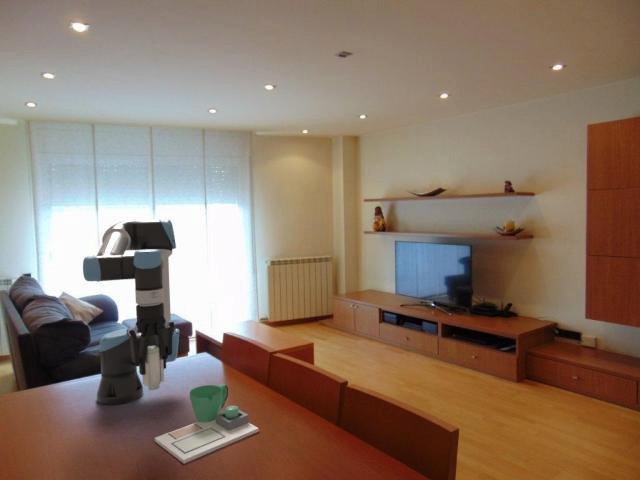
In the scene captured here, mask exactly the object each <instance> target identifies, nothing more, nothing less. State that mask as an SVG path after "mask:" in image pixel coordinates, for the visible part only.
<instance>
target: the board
mask: <svg viewBox="0 0 640 480" xmlns="http://www.w3.org/2000/svg"><path fill="white" fill-rule="evenodd" d="M259 430H260V429H259V427H257V426H256V425H254V424H252V423H250V422H249V414H248V413H246V412H244V411H242V410H240V409H239V417H237V418H234V419H232V420H228V419H226V418H225V411H222V412H221V413H220V412H219V413H218V414H217V415H216V419H215V420H213V421H210V422H198V421H196V422H194V423H191V424H188V425H186V426H183V427H180V428H178V429H175V430H173V431H169V432H166V433H164V434H161V435H159V436H156V437H154V442H155V443H157V445H159V446H160V447H162V449H164V450H166V451H167V452H168V453H169V454H170V455H172V456H173V457H174V458H176V459H177V460H178V461H179V462H181V463H182V464H187V463H189V462H191V461H193V460H196V459H198V458H200V457H203V456H205V455H208V454H210V453H212V452H214V451H217V450H218V449H221V448H223V447H226V446H229V445H230V444H233V443H235V442H239V441H240V440H241V439H245V438H248V436H251V435H254V434H257V433H258V432H259Z"/></svg>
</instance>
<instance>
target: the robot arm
mask: <svg viewBox="0 0 640 480" xmlns="http://www.w3.org/2000/svg"><path fill="white" fill-rule="evenodd" d="M101 242H102V244H101V247H100V248H99V251H98V252H97V254H96V255H92V256H89V255H88V256H86V257H84V258H83V262H82V273H83V278H84V280H85V281H87V282H97V283H99V282H106V281H107V282H109V281H121V280H134V286H135V287H134V288H135V289H134V292H135V303H136V304H137V305H136V306H135V307H136V308H135V311H136V322H135V326H133V327H131V328H121V329H117V330H113V331H110V332H108V333H106V334H104V335H102V336H101V338H100V340H99V349H98V350H99V355H100V357H99V359H100V374H101V376H100V377H101V378H100V382H99V385H98V389H97V392H96V401H97V402H98V403H99V404H101V405H107V406H108V405H120V404H126V403H130V402H132V401H134V400H137V399H138V398H141V397H142V396H143V394H144V386H146V387H148V386H150V384H149V363H146V357H147V349H148V346H159V358H160V379H161V383H164V382H165V370H166V369H167V363H173V362H175V361H176V360H177V358H178V351H179V342H180V341H179V340H180V339H179V338H180V329H179V328H176V323H175V322H174V321H172V319H171V318H172V317H171V292H170V291H171V290H170V289H171V288H170V265H169V264H170V262H169V258H170V257H171V256H172V254H173V250H175V249H177V244H176V238H175V232H174V227H173V222H172V221H171V220H170V219H165V218H162V219H161V218H153V219H147V218H146V219H127V220H124V221H119V222H118V223H116V224H113V225H112V226H110V227H109V228H108V229H107V230H105V232H104V234H103V235H102V239H101ZM127 251H134V253H132V254H125V252H127ZM137 367H138V368H137ZM138 370H139V371H138ZM138 372H139V374H140V375H141V376H142V382H141V379H140V377H139V376H140V375H139V374H138ZM143 385H144V386H143Z"/></svg>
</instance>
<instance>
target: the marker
mask: <svg viewBox="0 0 640 480" xmlns="http://www.w3.org/2000/svg"><path fill="white" fill-rule="evenodd" d="M146 363H149V384H150V386H147V387H148V388H147V389H148V391H149V390H150V391H155V390H158V389H159V388H160V385H161V383H162V382H161V379H160V358H159V346H148V349H147V357H146Z"/></svg>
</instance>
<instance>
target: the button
mask: <svg viewBox="0 0 640 480" xmlns="http://www.w3.org/2000/svg"><path fill="white" fill-rule="evenodd" d="M239 410H240V409H239V406H237V405H229V406H227V407H225V409H224V412H225V418H226V419H228V420H232V419H234V418H237V417H239Z"/></svg>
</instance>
